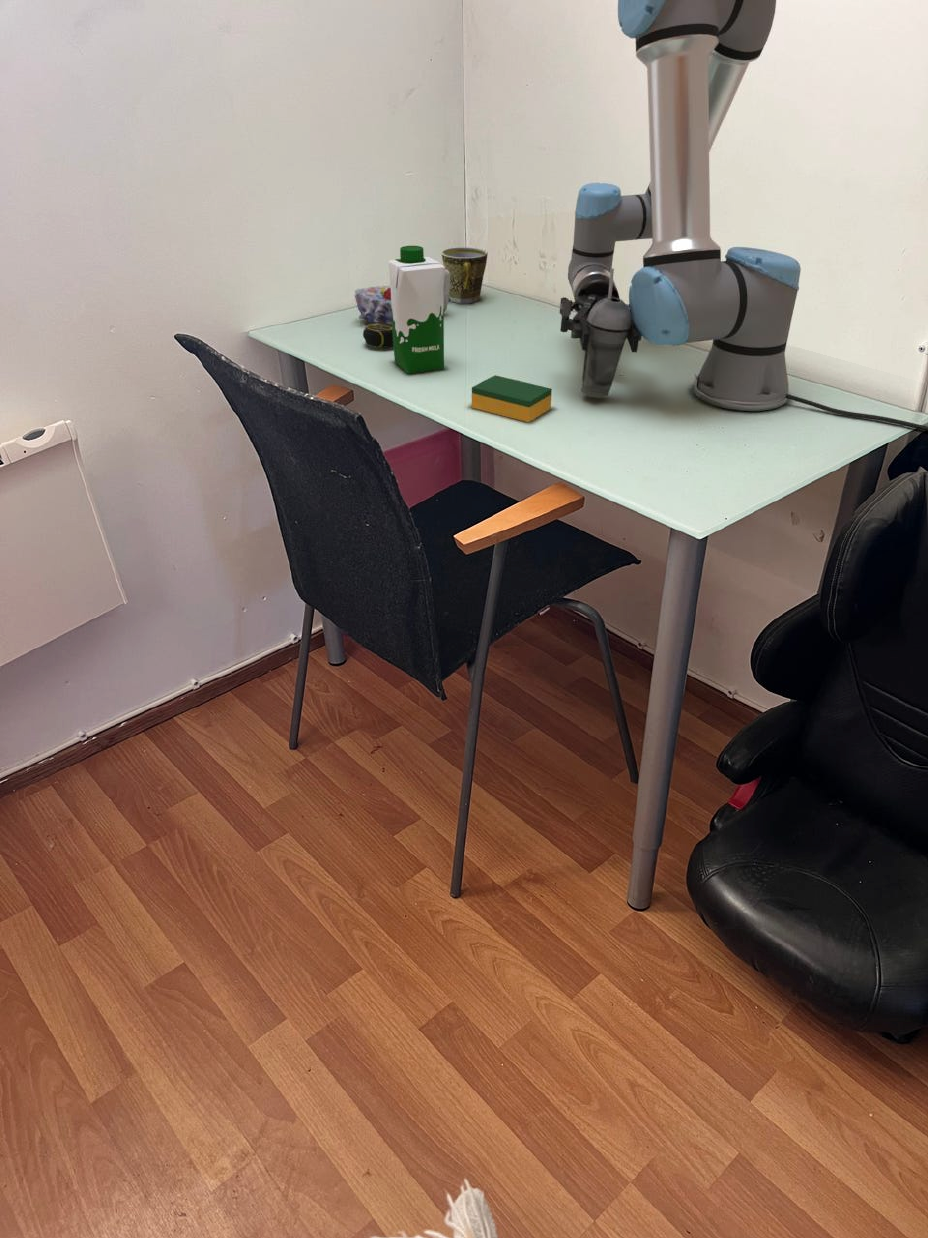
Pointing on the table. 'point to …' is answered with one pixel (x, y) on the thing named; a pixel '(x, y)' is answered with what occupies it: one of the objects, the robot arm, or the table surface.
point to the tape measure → (378, 335)
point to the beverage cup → (604, 343)
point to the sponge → (511, 398)
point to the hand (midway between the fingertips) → (610, 342)
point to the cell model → (385, 301)
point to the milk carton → (417, 311)
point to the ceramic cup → (465, 273)
